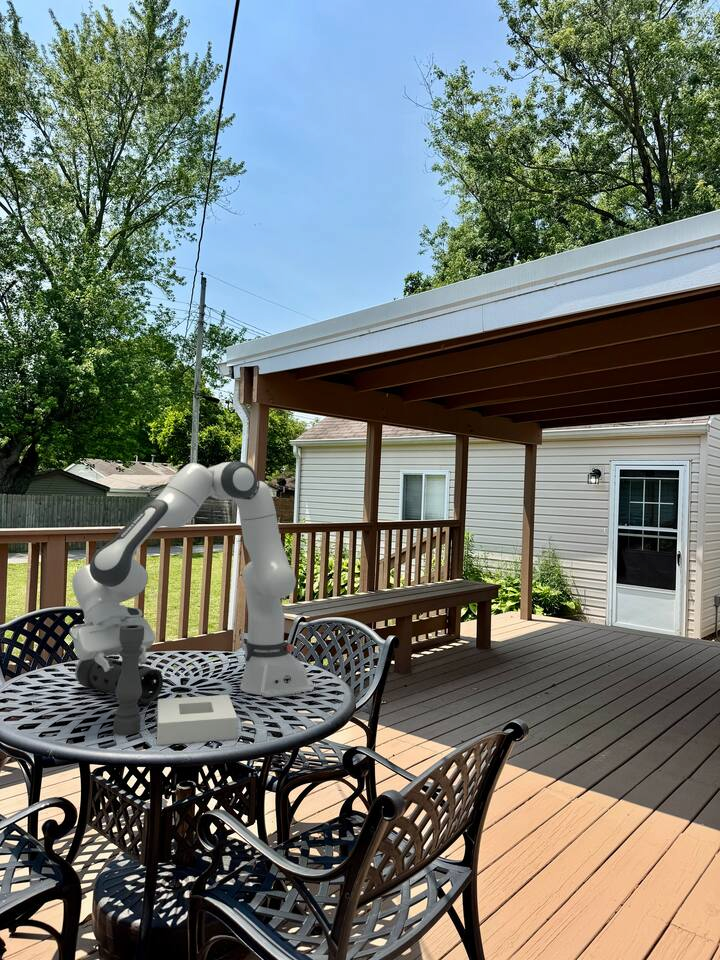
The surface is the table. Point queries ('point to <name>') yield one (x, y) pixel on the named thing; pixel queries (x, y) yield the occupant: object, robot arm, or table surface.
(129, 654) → the candle holder
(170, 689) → the table surface
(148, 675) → the muzzle brake
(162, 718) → the socket block
